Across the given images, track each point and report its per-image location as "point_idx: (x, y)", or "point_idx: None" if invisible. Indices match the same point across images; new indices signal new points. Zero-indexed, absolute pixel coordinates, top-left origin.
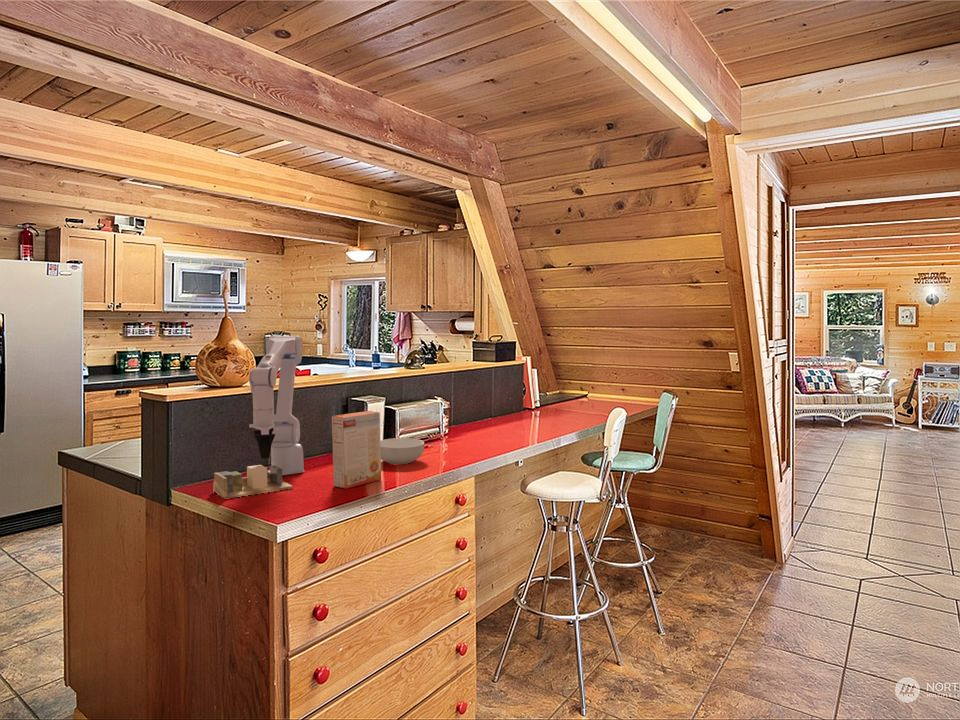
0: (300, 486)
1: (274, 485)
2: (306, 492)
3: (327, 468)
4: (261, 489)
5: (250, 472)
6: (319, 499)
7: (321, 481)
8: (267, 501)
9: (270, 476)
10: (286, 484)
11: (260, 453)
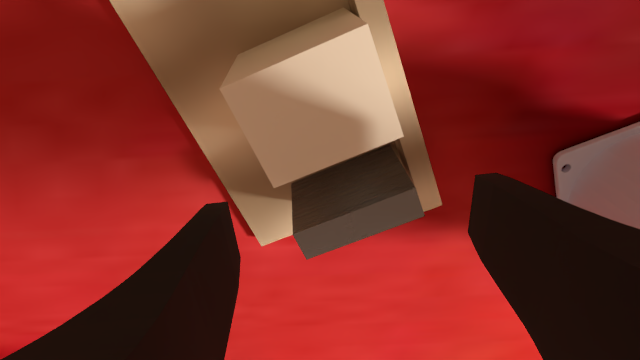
0: (299, 263)
1: None
2: None
3: None
4: (214, 104)
5: (276, 56)
6: None
7: (363, 327)
8: (9, 142)
9: (394, 156)
10: None
11: (179, 231)
